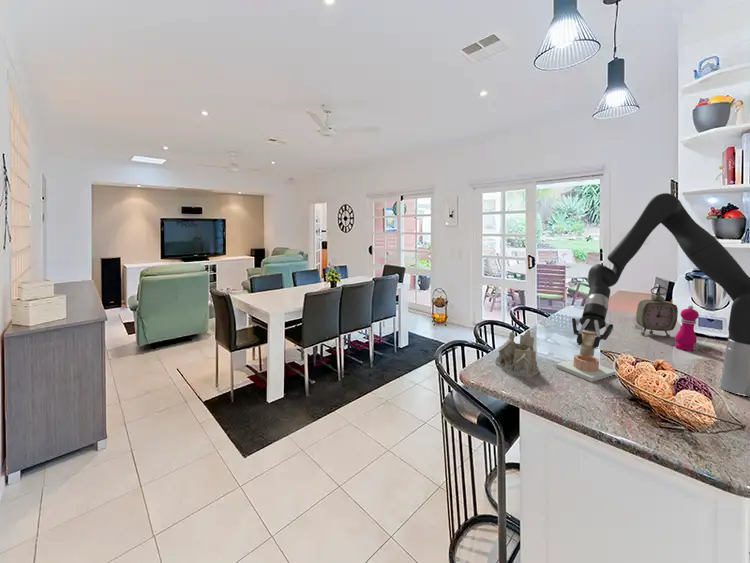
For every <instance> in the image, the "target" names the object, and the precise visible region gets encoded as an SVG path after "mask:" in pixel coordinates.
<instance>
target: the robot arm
mask: <svg viewBox="0 0 750 563" xmlns="http://www.w3.org/2000/svg"><path fill="white" fill-rule="evenodd" d="M660 224H661V225H662V226H663V227H664V228H666V230H668V231H669V232H670V233H671V234H672V235H673V237H674V239H675V240H676V242H677V244H678V246H679V248H681V250H682V252H683V253H684V254H685V255H686V257H687V258H688V260H689V261H691V263H692V264H694V267H696V268H697V270H699V271H700V272H701V273H703V274H704V275H705V276H706V277H708V278H709V279H711V280H712V281H714V282H715V283H717V284H718V285H719V286H720V287H721V288H722V289H723V290H724V292H726V294H727V295H728V296H729V297H730V298H731V300H732V304H731V307H730V312H729V313H730V314H729V321H728V326H727V327H728V329H727V330H728V337H727V343H726V349H725V355H724V361H723V367H722V372H721V377H720V378H721V379H720V385H719V388H720V387H721V388H722V389H721V388H720V389H721V390H723V389H724V390H723V391H725V390H726V391H725V392H727V391H729V392H734V393H740V394H745V395H747V396H748V397H747V398H749V397H750V276H749V275H748V274H747V273H746V271H745V270H744V269H743V268H742V267H741V265H740V264H739V263H738V262H737V261H736V259H735V258H734V257H733V255H731V253H730V251H728V249H726V248H725V246H724V245H723V244H721V243H720V242H719V240H718V239H717V238H715V237H714V236H713V235H712V234H711V233H710V232H709V231H707V230H706V229H705V228H704V227H702V226H701V225H699V224H698V223H697V222H696V221H695V220H694V219H693V218H692V216H691V215H690V214H689V213H688V211H687V210H686V208H685V207H684V206H683V204H682V202H681V200H680V199H679V198H677V196H676V195H674V194H671V193H669V192H667V193H665V192H663V193H660V194H657V195H655V196H653V197H652V198H650V200H649V201H648V203H647V205H646V206H645V207H644V210H643V211H642V213H641V214H640V216H639V217H638V218H637V220H636V221H635V223H634V225H633V226H632V227H631V228H630V230H629V231H628V232H627V233H626V234H625V236H623V238H622V239H621V241H619V243H618V244H617V245H616V246H615V247H614V248H613V249H612V251H611V252H610V253H609V254H608V256H607V260H608V261H609V262H610V263H611V264H612V265H613V266H612V268H609V267H608V266H605V265H604V264H601V263H596V264H594V265H593V266H591V267H590V268H589V270H588V275H587V278H588V287H589V290H588V295H587V298H586V299H585V300H586V301H585V303H584V307H583V312H582V315H581V317H580V318H579V319H578V318H577V319H576V318H572V319H571V323H572V329H573V330H572V331H573V335H577V336H576V343H577V345H578V346H581V339H582V330H592V331H595V332H596V338H595V342H594V349H597V348H599V347H600V342H601V340H604V341H607V339H608V338H609V336H610V335H611V334H612V332H613V330H614V324H612V323H610V324H609V323H606V322H607V321H606V317H607V313H608V309H609V299H610V294H611V289H610V287H611V288H612V287H613V286H615V285H616V284H617V283H618V281H619V280H620V278H621V275H622V274H623V271H624V270H625V268H626V266H627V264H628V263H629V262H630V261H632V259H633V258H634V257H635V255H637V253H638V252H639V251H640V250H641V248H642V247H643V245H644V243H645V242H646V240H647V239H648V237H649V236H650V235H651V234H652V232H653V231H654V230H655V229H656V228H657V227H658V226H659V225H660ZM579 324H580V325H581V326H580V329H579V330H578V328H577V327H578V326H579ZM604 328H605V331H604V332H603V334H601V330H602V329H604ZM729 392H728V393H729Z"/></svg>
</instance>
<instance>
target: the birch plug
mask: <svg viewBox="0 0 750 563" xmlns="http://www.w3.org/2000/svg"><path fill="white" fill-rule="evenodd" d="M595 338H596V332H595V331H592V330H582V339H581V345H580V350H579V351H580V352H579V355H583V356H586V357H595V356H594V355H595V348H594V342H595Z"/></svg>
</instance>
